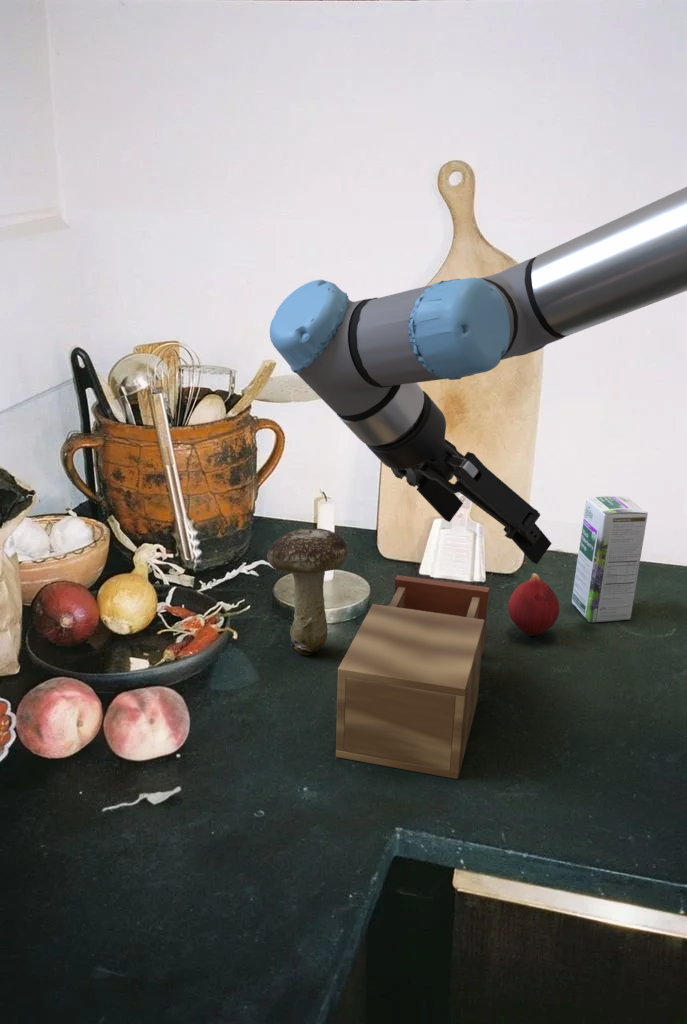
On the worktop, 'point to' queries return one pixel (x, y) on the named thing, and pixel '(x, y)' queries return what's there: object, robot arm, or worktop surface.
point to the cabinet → (409, 690)
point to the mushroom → (308, 580)
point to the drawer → (441, 598)
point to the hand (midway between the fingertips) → (495, 531)
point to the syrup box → (608, 558)
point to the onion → (533, 606)
